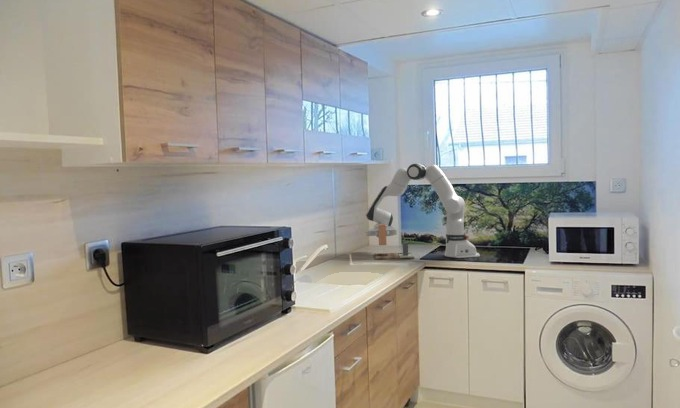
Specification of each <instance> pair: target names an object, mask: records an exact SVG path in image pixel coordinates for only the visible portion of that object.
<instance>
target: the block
mask: <svg viewBox="0 0 680 408" xmlns="http://www.w3.org/2000/svg"><path fill="white" fill-rule="evenodd" d="M378 232H379V237H378V245H379V246H387V236H386V225H385V224H381V225H378Z"/></svg>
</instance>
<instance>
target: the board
mask: <svg viewBox="0 0 680 408" xmlns="http://www.w3.org/2000/svg"><path fill="white" fill-rule="evenodd" d="M399 254H403V252H383V253H382V252H381V253H379V252H378V253H373V256H374V258H375V261H385V260H386V261H387V260H388V261H389V260H390V261H391V260H415V257H414V255H413V254H412V253H411V252H409V251H408V254H411V255H412V256H413V257H406V258H400V257H399Z"/></svg>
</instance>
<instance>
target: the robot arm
mask: <svg viewBox="0 0 680 408" xmlns="http://www.w3.org/2000/svg"><path fill="white" fill-rule="evenodd" d="M424 179H426V180H427V181H428V182H429V184H430V185H431V187H432V188H433V190H434V192H435V194H437V196H438V198H439V200H440V202H441V204H442V206H443V209H444V210H445V211H446V212H447V214H446V215H447V216H446V222H445V225H446V228H445V230H446V234H445V251H444V256H445V257H448V258H456V259H461V258H463V259H465V258H479V257H480V256H481V255H480V253H479V252H477V248H476V246H475V245H474V244H473V243H471V242H470V241H469V240H468V239H469V238H470V237H469V235H467V234H465V226H464V223H465V213H466V212H465V210H466V208H465V207H466V202H465V200H464V198H463V197H462V196H460V195H457V193H456V191H455V189H454V187H453V185H452V182H450V180H449V179H448V178H447V176H446V174H445V173H444V172H443V170H442V169H441V168H440V167H439V166H438V165H436V164H430V165H428V166H426V165H425V164H423V163H420V162H419V163H417V162H416V163H412V164H410V165H409V166H408V167H407V168H405V167H400V168H398V169H397V171H396V172H395V174H394V175H393V178H392V179H391V182H390V183H389V184H388V185H385V186H384V187H382V188H381V190H380V191H379V193H378V194H377V196H376V197H375V199H374V201H373V202H372V203H371V205H370V206H369V208H367V210H366V213H365V217H366V219H367V220H368V221H371V222H375V224H374V226H373V228H372V229H370V228H369V229H367V230H366V231H365V234H366V237H374V236H376V237H377V238H379V232H378V225H381V224H385V225H386V237H392V236H396V235H398V229H397V228H396V227H394V226H393V225H392V223H393V222H394V221H393V219H394V215H393V214H392V213H391V212H389V211H387V210H384V209H381V208H380V207H379V205H380V204H381V202H382V200H383V199H384V198H386V197H400V196H402V195H403V194H404V193H405V192H406V190H407V188H408V186H409V183H410V181H411V180H413V181H421V180H424Z"/></svg>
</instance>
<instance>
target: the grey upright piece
mask: <svg viewBox="0 0 680 408" xmlns="http://www.w3.org/2000/svg"><path fill="white" fill-rule="evenodd" d="M402 253H403V254H399V257H400V258H406V257H414V255H413V254H412V253H411V254H412V255H413V256H412V255H411V254H408V253H409V242H407V241H406V242H405V241H404V242H403V241H402Z"/></svg>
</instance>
